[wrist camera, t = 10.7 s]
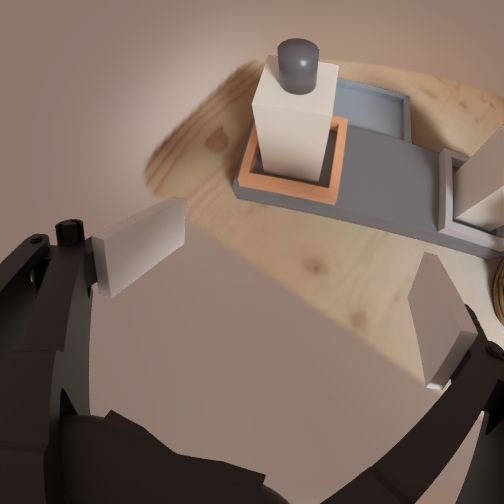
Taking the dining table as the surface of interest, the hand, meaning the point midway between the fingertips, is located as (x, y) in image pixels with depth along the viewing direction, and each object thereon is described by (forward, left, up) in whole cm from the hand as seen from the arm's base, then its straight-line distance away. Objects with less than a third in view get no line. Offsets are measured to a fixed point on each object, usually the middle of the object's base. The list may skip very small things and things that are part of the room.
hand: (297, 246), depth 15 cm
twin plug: (-17, -11, -10) cm, 22 cm away
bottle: (+2, -11, -10) cm, 15 cm away
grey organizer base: (-8, -11, -13) cm, 18 cm away
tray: (-4, -20, -13) cm, 24 cm away
